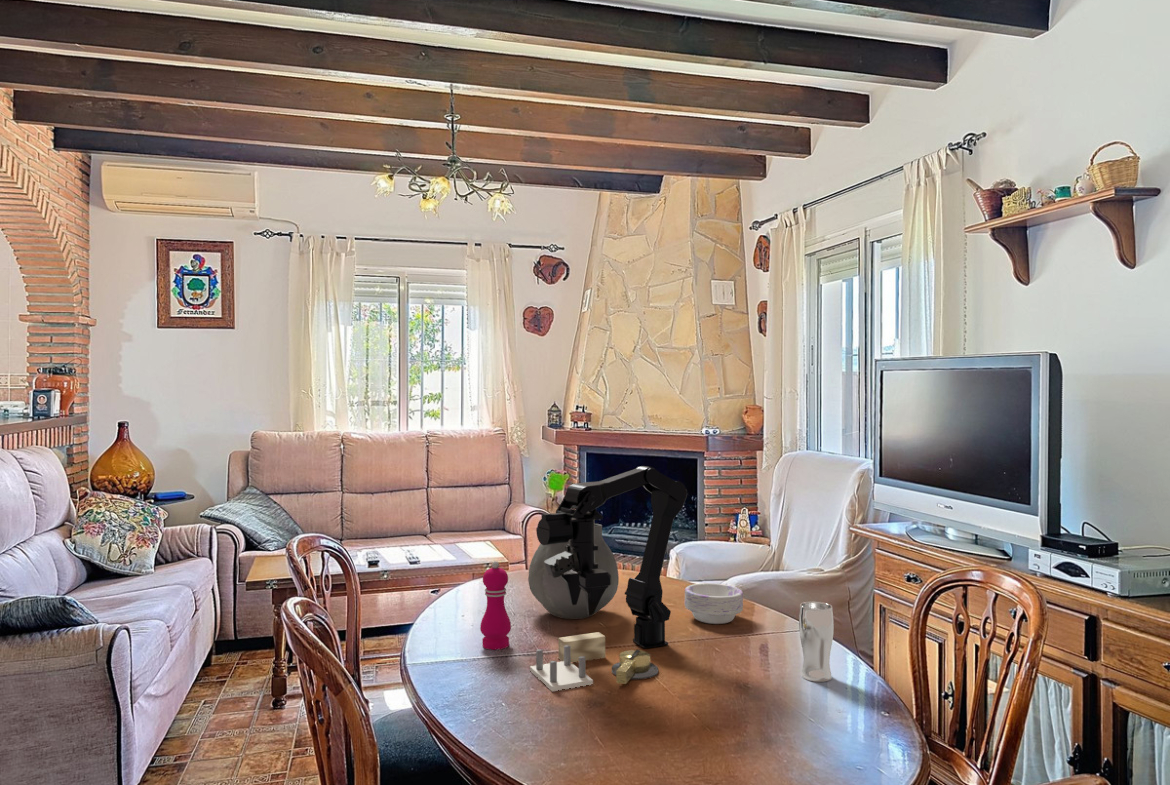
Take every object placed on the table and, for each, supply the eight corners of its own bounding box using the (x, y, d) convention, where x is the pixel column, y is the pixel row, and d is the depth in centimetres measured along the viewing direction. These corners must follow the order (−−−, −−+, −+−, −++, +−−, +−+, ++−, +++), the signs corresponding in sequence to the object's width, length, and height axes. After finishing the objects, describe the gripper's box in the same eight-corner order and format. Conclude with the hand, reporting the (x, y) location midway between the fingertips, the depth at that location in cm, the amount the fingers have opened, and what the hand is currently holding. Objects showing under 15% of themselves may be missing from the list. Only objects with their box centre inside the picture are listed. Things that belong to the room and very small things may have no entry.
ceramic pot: (635, 611, 217) (635, 519, 217) (588, 634, 197) (587, 533, 197) (561, 598, 230) (561, 512, 230) (510, 619, 210) (509, 524, 210)
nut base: (644, 660, 177) (644, 657, 177) (666, 675, 168) (666, 672, 168) (603, 667, 173) (603, 664, 173) (624, 682, 164) (624, 679, 164)
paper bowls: (755, 621, 207) (755, 590, 207) (712, 631, 199) (712, 599, 199) (714, 608, 220) (714, 579, 220) (672, 617, 211) (672, 587, 211)
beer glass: (834, 673, 169) (834, 602, 169) (833, 684, 162) (832, 611, 162) (800, 669, 171) (800, 600, 171) (798, 680, 164) (797, 608, 164)
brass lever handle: (624, 660, 175) (624, 647, 175) (653, 663, 172) (653, 650, 172) (605, 681, 162) (605, 667, 162) (636, 685, 160) (636, 671, 160)
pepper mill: (505, 651, 184) (505, 565, 184) (476, 649, 185) (475, 564, 185) (514, 641, 191) (514, 558, 191) (486, 640, 192) (485, 557, 192)
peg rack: (529, 670, 171) (529, 647, 171) (568, 664, 174) (568, 642, 174) (552, 691, 159) (551, 666, 159) (592, 684, 163) (592, 660, 163)
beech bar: (598, 653, 182) (598, 632, 182) (605, 658, 179) (605, 636, 179) (558, 660, 178) (558, 637, 178) (564, 664, 175) (564, 642, 175)
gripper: (533, 536, 184) (534, 603, 184) (564, 551, 167) (565, 625, 167) (578, 532, 188) (578, 598, 188) (612, 546, 171) (612, 618, 171)
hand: (582, 609), depth 179 cm, fingers open, 9 cm apart
